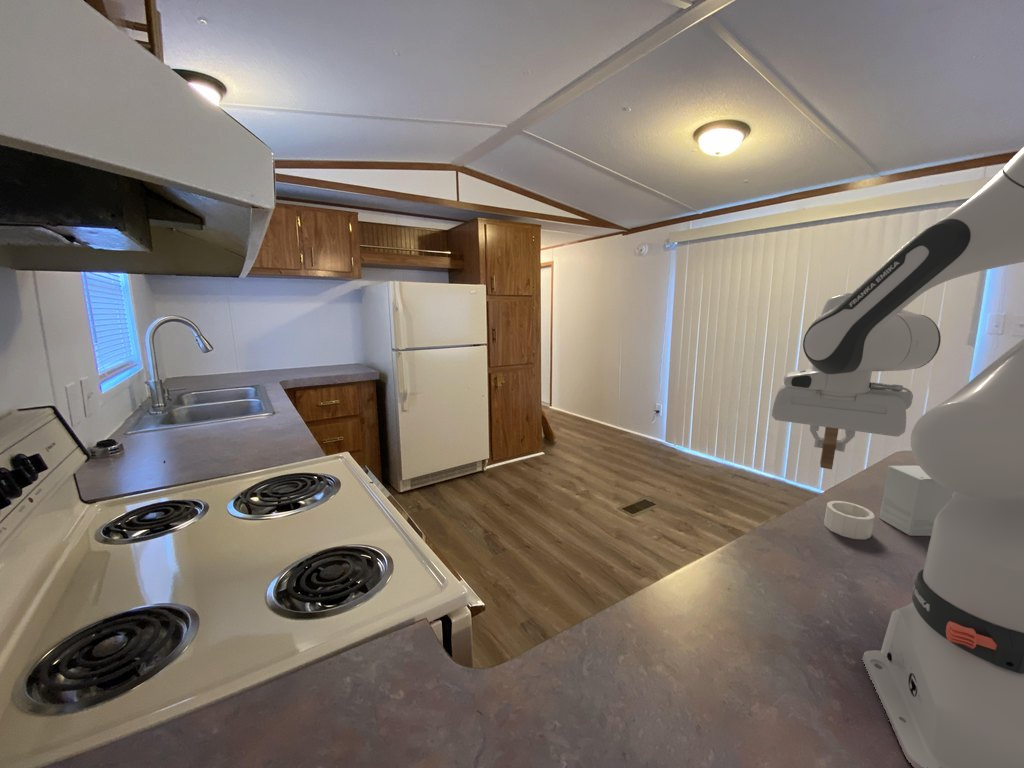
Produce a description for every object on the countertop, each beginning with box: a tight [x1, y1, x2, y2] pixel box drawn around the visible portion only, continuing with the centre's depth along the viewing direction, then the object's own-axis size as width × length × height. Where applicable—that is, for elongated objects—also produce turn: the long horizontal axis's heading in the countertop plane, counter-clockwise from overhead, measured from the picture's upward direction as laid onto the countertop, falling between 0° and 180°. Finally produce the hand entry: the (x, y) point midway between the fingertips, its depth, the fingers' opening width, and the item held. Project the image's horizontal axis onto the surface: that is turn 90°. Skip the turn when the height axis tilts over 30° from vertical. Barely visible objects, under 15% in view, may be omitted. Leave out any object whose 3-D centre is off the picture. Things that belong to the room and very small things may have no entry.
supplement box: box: [879, 465, 954, 537], centre depth 86 cm, size 7×7×13 cm
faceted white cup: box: [823, 500, 875, 540], centre depth 86 cm, size 8×8×4 cm
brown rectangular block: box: [819, 427, 839, 470], centre depth 80 cm, size 3×2×10 cm, turn 144°
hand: (828, 448), depth 80 cm, fingers closed on brown rectangular block, 2 cm apart
